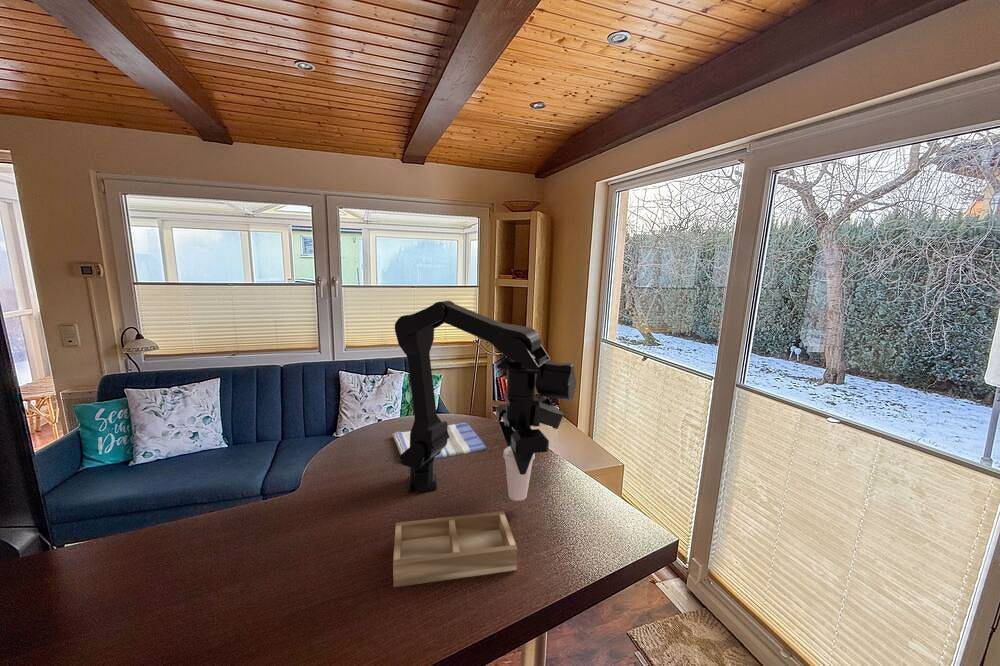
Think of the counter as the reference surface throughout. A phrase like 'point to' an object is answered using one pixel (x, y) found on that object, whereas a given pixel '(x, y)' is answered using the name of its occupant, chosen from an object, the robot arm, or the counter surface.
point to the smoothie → (516, 476)
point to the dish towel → (448, 441)
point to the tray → (452, 548)
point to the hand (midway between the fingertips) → (518, 465)
